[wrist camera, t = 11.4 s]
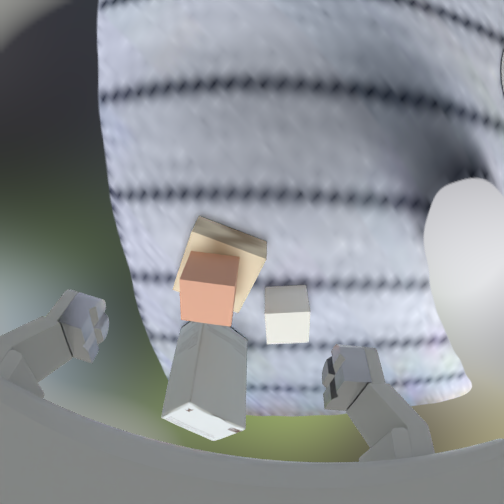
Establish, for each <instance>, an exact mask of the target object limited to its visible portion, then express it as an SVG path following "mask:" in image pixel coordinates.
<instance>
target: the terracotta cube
mask: <svg viewBox="0 0 504 504" xmlns="http://www.w3.org/2000/svg"><path fill="white" fill-rule="evenodd" d="M239 258H240V257H237V256H229V255H221V254H213V253H204V252H196V251H191V252H190V255H189V257H188V260H187V262H186V264H185V267H184V269H183V272H182V274H181V277H180V279H179V281H180V309H181V320H186V321H193V322H200V323H207V324H214V325H222V326H230V327H231V323H232V316H233V309H234V302H235V295H236V286H237V276H238V267H239Z"/></svg>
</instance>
